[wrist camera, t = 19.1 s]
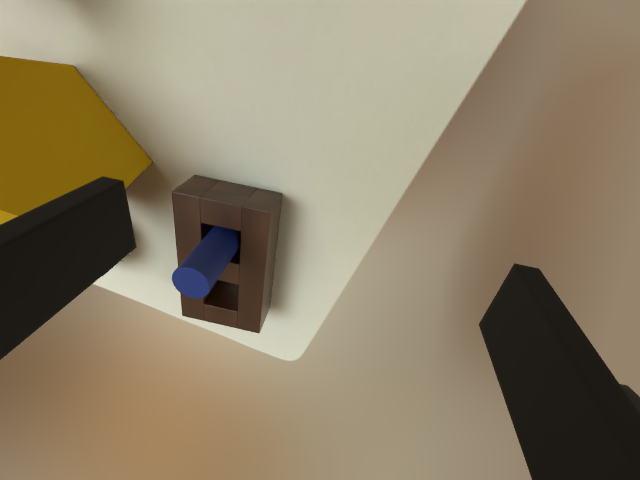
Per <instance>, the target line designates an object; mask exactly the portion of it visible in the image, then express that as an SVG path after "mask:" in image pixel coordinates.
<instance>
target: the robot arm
mask: <svg viewBox="0 0 640 480" xmlns="http://www.w3.org/2000/svg"><path fill="white" fill-rule="evenodd" d="M135 248H136V244H135V238H134V233H133V228H132V222H131V217H130V212H129V206H128V201H127V196H126V190H125V185H124V181H123V180H118V179H113V178H109V177H104V176H102V177H100V178H98V179H96V180H94V181H92V182H89V183H87V184H85V185H83V186H81V187H79V188H77V189H75V190H73V191H70V192H68V193H66V194H64V195H62V196H60V197H58V198H56V199H54V200H51V201H49V202H47V203H45V204H43V205H41V206H39V207H37V208H35V209H32V210H30V211H28V212H26V213H24V214H22V215H20V216H18V217H16V218H13V219H11V220H9V221H7V222H5V223H3V224H1V225H0V360H1V359H2V358H3V357H4V356H6V355H7V354H8V353H9V352H10V351H11V350H13V349H14V348H15V347H16V346H18V345H19V344H20V343H21V342H22V341H24V340H25V339H26V338H27V337H28V336H30V335H31V334H32V333H33V332H35V330H37V329H38V328H39V327H41V326H42V325H43V324H44V323H45V322H47V321H48V320H49V319H50V318H51V317H53V316H54V315H55V314H56V313H57V312H59V311H60V310H61V309H62V308H63V307H65V306H66V305H67V304H68V303H69V302H71V301H72V300H73V299H74V298H76V297H77V296H78V295H79V294H80V293H81V292H83V291H84V290H85V289H86V288H88V287H89V286H90V285H91V284H93V283H94V282H95V281H96V280H97V279H99V278H100V277H101V276H102V275H103V274H105V273H106V272H107V271H108V270H109V269H111V268H112V267H113V266H114V265H115V264H117V263H118V262H119V261H120V260H122V259H123V258H124V257H125V256H126V255H128V254H129V253H130V252H131V251H132V250H134V249H135ZM479 326H480V329H481V332H482V335H483V338H484V341H485V344H486V346H487V349H488V352H489V355H490V358H491V361H492V364H493V367H494V370H495V373H496V375H497V379H498V381H499V384H500V387H501V390H502V393H503V396H504V399H505V402H506V405H507V408H508V411H509V413H510V416H511V419H512V422H513V425H514V428H515V431H516V434H517V437H518V439H519V443H520V445H521V448H522V451H523V454H524V457H525V460H526V463H527V466H528V469H529V472H530V475H531V477H532V480H640V397H639V396H638V395H637V394H636V393H635V392H634V391H633V390H632V389H631V388H630V387H628V386H626V385H621V384H619V383H618V382H617V380H616V379H615V377H614V376H613V374H612V373H611V371H610V370H609V369H608V367H607V366H606V364H605V363H604V362H603V360H602V358H601V357H600V356H599V354H598V353H597V351H596V350H595V348H594V347H593V346H592V344H591V343H590V341H589V340H588V338H587V337H586V336H585V334H584V333H583V331H582V330H581V328H580V327H579V325H578V324H577V323H576V321H575V320H574V318H573V317H572V315H571V314H570V312H569V311H568V310H567V308H566V307H565V305H564V304H563V302H562V301H561V300H560V298H559V297H558V295H557V294H556V292H555V291H554V290H553V288H552V287H551V285H550V284H549V282H548V281H547V279H546V278H545V277H544V275H543V274H542V272H541V271H540V270H539V269H538V268H533V267H528V266H524V265H519V264H514V265H513V267H512V269H511V270H510V272H509V274H508V275H507V277H506V279H505V280H504V282H503V284H502V286H501V287H500V289H499V291H498V292H497V294H496V296H495V298H494V299H493V301H492V303H491V304H490V306H489V308H488V310H487V311H486V313H485V315H484V316H483V318H482V320H481V322H480V323H479Z"/></svg>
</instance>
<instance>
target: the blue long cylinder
mask: <svg viewBox="0 0 640 480" xmlns="http://www.w3.org/2000/svg"><path fill="white" fill-rule="evenodd" d="M240 244H241V231H237V230H233V229H228V228H224V227H219V226H214V227H213V228H212V230H211V231H210V232H209V233H208V234H207V235H206V236H205V237H204V239H203V240H202V241H201V242H200V243H199V244H198V245H197V246H196V248H195V249H194V250H193V251H192V252H191V253H190V254H189V255H188V257H187V258H186V259H185V260H184V261H183V262H182V263H181V264H180V266H179V267H178V268H177V269H176V270H175V271H174V273H173V275H172V281H173V284H174V286H175V287H176V289H177V290H178V291H179V292H180V293H182V294H183V295H185V296H187V297H190V298H203V297H205V296H206V295H207V294H208V293H209V292H210V290H211V289H212V287H213V286H214V284H215V283H216V281H217V280H218V278H219V277H220V275H221V274H222V272H223V271H224V269H225V268H226V266H227V265H228V263H229V262H230V260H231V259H232V257H233V256H234V254H235V253H236V251H237V250H238V249H239V247H240Z"/></svg>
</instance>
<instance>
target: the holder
mask: <svg viewBox="0 0 640 480" xmlns="http://www.w3.org/2000/svg"><path fill="white" fill-rule="evenodd" d="M172 199H173V211H174V223H175V234H176V246H177V258H178V267H179V266H180V264H181V263H182V262H183V261H184V260H185V259H186V258H187V257H188V255H189V254H190V253H191V252H192V251H193V250H194V249H195V248H196V246H197V245H198V244H199V243H200V242H201V241H202V240H203V239H204V237H205V236H206V235H207V234H208V233H209V232H210V231H211V230H212V228H213V227H214V226H219V227H224V228H228V229H233V230H237V231H241V244H240V247H239V249H238V250H237V251H236V253H235V254H234V256H233V257H232V259H231V260H230V262H229V263H228V265H227V266H226V268H225V269H224V271H223V272H222V274H221V275H220V277H219V278H218V280H217V281H216V283H215V284H214V286H213V287H212V289H211V290H210V292H209V293H208V294H207V295H206V296H205V297H203V298H190V297H187V296H185V295H183V294H182V293H181V305H182V315H183V316H186V317H190V318H195V319H199V320H203V321H204V320H205V321H208V322H212V323H216V324H221V325H225V326H230V327H234V328H238V329H242V330H247V331H251V332H256V333H260V331H261V328H262V326H263V323H264V321H265V318H266V316H267V313H268V311H269V308H270V302H271V293H272V284H273V274H274V265H275V256H276V247H277V238H278V229H279V220H280V211H281V202H282V193H277V192H273V191H268V190H263V189H259V188H254V187H249V186H245V185H240V184H235V183H230V182H226V181H221V180H216V179H211V178H206V177H202V176H197V175H194V176H193V177H191V178H190V179H188V180H187V181H186V182H184V183H183V184H181V185H180V186H179V187H177V188H176V189H174V190H173V191H172Z"/></svg>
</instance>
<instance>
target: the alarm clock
mask: <svg viewBox="0 0 640 480" xmlns="http://www.w3.org/2000/svg"><path fill="white" fill-rule="evenodd" d="M151 163H152V161H151V159H150V158H149V157H148V156H147V154H146V153H145V152H144V151H143V150H142V148H141V147H140V146H139V145H138V144H137V142H136V141H135V140H134V139H133V138H132V136H131V135H130V134H129V133H128V132H127V130H126V129H125V128H124V127H123V126H122V124H121V123H120V122H119V121H118V119H117V118H116V117H115V116H114V115H113V113H112V112H111V111H110V110H109V109H108V107H107V106H106V105H105V104H104V103H103V101H102V100H101V99H100V98H99V97H98V95H97V94H96V93H95V92H94V90H93V89H92V88H91V87H90V86H89V84H88V83H87V82H86V81H85V80H84V78H83V77H82V76H81V75H80V74H79V72H78V71H77V70H76V69H75V68H74V66H73V65H65V64H58V63H50V62H42V61H34V60H26V59H19V58H11V57H3V56H0V225H1V224H3V223H5V222H7V221H9V220H11V219H13V218H16V217H18V216H20V215H22V214H24V213H26V212H28V211H30V210H32V209H35V208H37V207H39V206H41V205H43V204H45V203H47V202H49V201H51V200H54V199H56V198H58V197H60V196H62V195H64V194H66V193H68V192H70V191H73V190H75V189H77V188H79V187H81V186H83V185H85V184H87V183H89V182H92V181H94V180H96V179H98V178H100V177H102V176H104V177H109V178H113V179H118V180H123V181H124V185H125V189H126V188H127V187H128V186H129V185H130V184H131V183H132V182H133V181H134V180H135V179H136V178H137V177H138V176H139V175H140V174H141V173H142V172H143V171H144V170H145V169H146V168H147V167H148V166H149V165H150V164H151Z"/></svg>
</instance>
